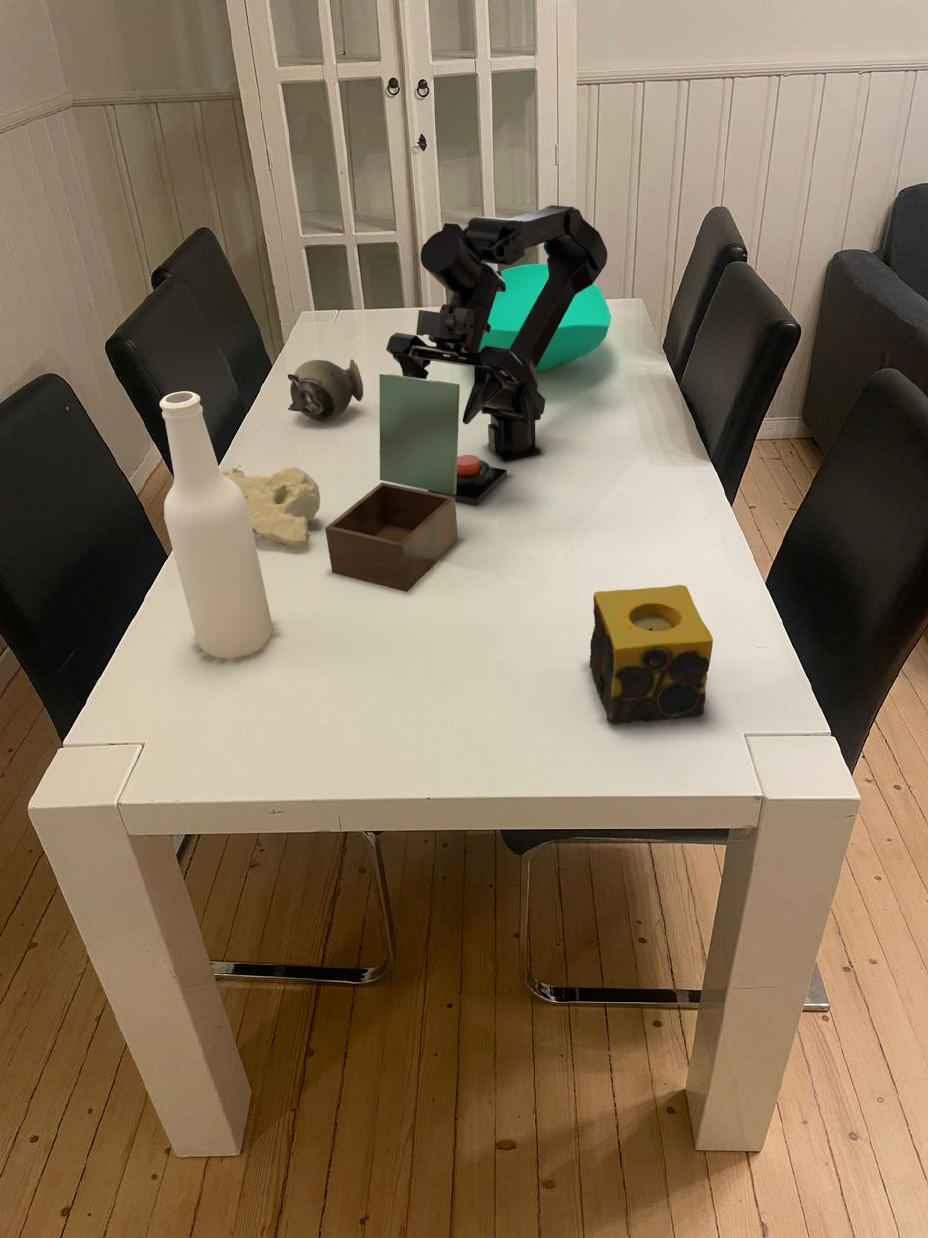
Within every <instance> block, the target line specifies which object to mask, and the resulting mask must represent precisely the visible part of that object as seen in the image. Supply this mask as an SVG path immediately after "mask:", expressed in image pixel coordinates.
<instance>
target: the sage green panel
mask: <svg viewBox="0 0 928 1238" xmlns="http://www.w3.org/2000/svg"><path fill="white" fill-rule="evenodd" d="M460 387H461V385H460V383H453V382H447V381H440V380H433V379H427V378H426V379H420V378H413V377H407V376H403V375H399V374H392V373H387V372H386V373H384V372H380V373H379V480H380V481H382V482H386V483H387V482H388V483H391V484H396V485H397V484H398V485H403V486H406V487H412V488H417V489H422V490H425V491H428V490H431V491H436V492H441V493H446V494H451V495H455V494H456V483H457V457H458V452H459V451H458V449H459V448H458V447H459V418H460V417H459V416H460V390H461V388H460Z"/></svg>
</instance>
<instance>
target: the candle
mask: <svg viewBox="0 0 928 1238" xmlns="http://www.w3.org/2000/svg"><path fill="white" fill-rule="evenodd" d="M592 611H593V616H594V620H593V623H594V626H593V631H592V635H591V639H590V655H589V661H588V663H589V666H588V667H589V668H590V670H591V675H592V678H593V679H592V680H593V682H594V685H595V689H596V691H597V693H598V694H599V695H598V698H599V699H600V702H601V704H602V706H603V708H604V710H605V713H606V720H607V721H608V723H609V724H611V725H617V724H632V723H636V722H637V723H638V722H645V723H648V722H654V721H655V722H656V721H663V720H670V719H671V720H672V719H674V720H676V719H679V718H680V719H681V718H692V717H693V718H699V717H701V716H703V714H704V713H705V703H706V695H707V694H706V692H707V691H706V686H707V681H708V673H709V669H710V666H711V665H710V664H711V661H712V660H711V659H712V652H713V644H714V639H713V636H712V633H711V631H710V630H709V628H708V627H707V625H706V624H705V623H704V621H703V619H702V617H701V616H700V613H699V611H698V609H697V606H696V605H695V603H694V601H693V598H692V596H691V593H690V591H689V589H688V587H687V586H686V585H683V584H675V585H668V586H661V587H660V586H659V587H646V588H634V589H633V588H632V589H615V590H614V589H613V590H601V591H599V590H598V591H594V593H593V610H592Z"/></svg>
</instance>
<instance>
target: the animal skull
mask: <svg viewBox="0 0 928 1238" xmlns="http://www.w3.org/2000/svg"><path fill="white" fill-rule="evenodd" d="M240 468H242V465H241V464H238V465H236V466H234V467H232V468H230V469H228V470H225V471H221V472H222V473H223V475H225V476H226V477H227V478H229V479H230V480H232V481H233V482H234V483H235V484H236V485H237V486H238V487H239V488H240V490H241V492H242V494H243V496H244V498H245V500H246V502H247V506H248V511H249V516H250V520H251V525H252V530H253V531H255V532H256V534H258V535H259V536H263V537H264V538H267V539H269V540H272V541H275V542H276V543H279V544H285V545H286V546H290V547H293V548H296V549H303V548H305V547H307V546H308V545H309V540H310V535H309V523H308V522H309V521H311V520H313V519H314V517H315V516H316V514H317V513H318V512H319V510H320V506H321V495H320V490H319V489H320V488H319V484H318V483H317V482H316V480H315V479H313V477H311V475H309V474H308V473H306V472H305V471H304V470H302V469H301V468H300V467H296V466H294V467H285V468H283V469H282V470H280V471H278V472H276V473H273V474H272V475H268V476H256V475H248V476H246V474H245V472H244V471H243V470H242V469H240Z"/></svg>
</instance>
